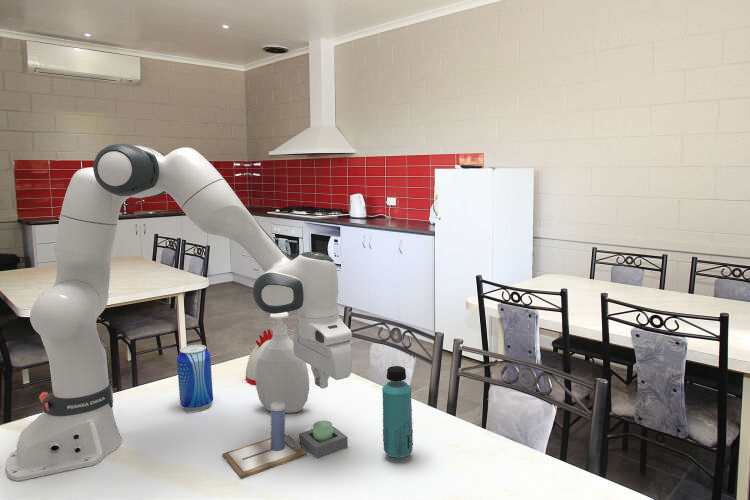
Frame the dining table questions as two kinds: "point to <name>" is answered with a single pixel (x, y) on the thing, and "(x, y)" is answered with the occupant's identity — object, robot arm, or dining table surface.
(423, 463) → the dining table surface
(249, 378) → the kitchen timer
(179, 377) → the beer can
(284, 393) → the soap bottle
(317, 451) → the button housing
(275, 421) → the marker
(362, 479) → the dining table surface
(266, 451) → the clipboard
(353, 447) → the dining table surface
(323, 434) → the button
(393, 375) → the beverage bottle
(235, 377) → the dining table surface
